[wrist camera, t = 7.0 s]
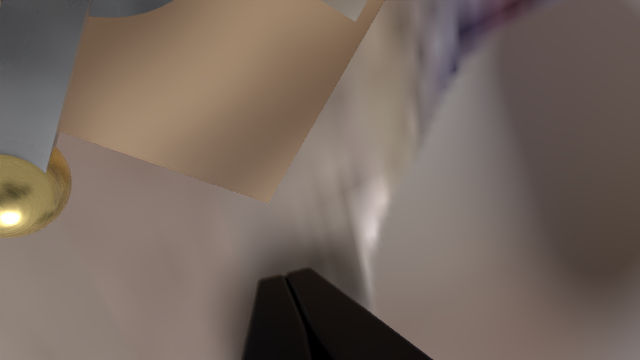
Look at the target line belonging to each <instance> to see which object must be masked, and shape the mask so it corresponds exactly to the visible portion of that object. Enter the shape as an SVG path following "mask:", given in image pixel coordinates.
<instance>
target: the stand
mask: <svg viewBox="0 0 640 360" xmlns="http://www.w3.org/2000/svg"><path fill="white" fill-rule="evenodd" d="M384 1H385V0H174V1H172V2H170V3H168V4H166V5H164V6H162V7H160V8H158V9H155V10H152V11H149V12H146V13H143V14H138V15H133V16H129V17H115V18H107V17H92V16H89V17H88V21H87V25H86V28H85V32H84V36H83V40H82V44H81V48H80V52H79V56H78V60H77V64H76V68H75V72H74V76H73V80H72V84H71V87H70V91H69V95H68V99H67V103H66V107H65V111H64V115H63V119H62V123H61V127H60V132H63V133H66V134H69V135H72V136H75V137H78V138H80V139H83V140H86V141H89V142H92V143H95V144H98V145H101V146H104V147H107V148H109V149H112V150H115V151H118V152H121V153H124V154H127V155H130V156H133V157H136V158H138V159H141V160H144V161H147V162H150V163H153V164H156V165H159V166H162V167H165V168H167V169H170V170H173V171H176V172H179V173H182V174H185V175H188V176H191V177H194V178H196V179H199V180H202V181H205V182H208V183H211V184H214V185H217V186H220V187H223V188H225V189H228V190H231V191H234V192H237V193H240V194H243V195H246V196H249V197H252V198H254V199H257V200H260V201H263V202H266V203H268V202H269V201H270V199H271V197H272V195H273V194H274V192H275V190H276V188H277V187H278V185H279V183H280V181H281V180H282V178H283V176H284V175H285V173H286V171H287V169H288V168H289V166H290V164H291V162H292V161H293V159H294V157H295V155H296V154H297V152H298V150H299V149H300V147H301V145H302V143H303V142H304V140H305V138H306V136H307V135H308V133H309V131H310V129H311V128H312V126H313V124H314V123H315V121H316V119H317V117H318V116H319V114H320V112H321V110H322V109H323V107H324V105H325V103H326V102H327V100H328V98H329V97H330V95H331V93H332V91H333V90H334V88H335V86H336V84H337V83H338V81H339V79H340V77H341V76H342V74H343V72H344V70H345V69H346V67H347V65H348V64H349V62H350V60H351V58H352V57H353V55H354V53H355V51H356V50H357V48H358V46H359V44H360V43H361V41H362V39H363V38H364V36H365V34H366V32H367V31H368V29H369V27H370V25H371V24H372V22H373V20H374V18H375V17H376V15H377V13H378V12H379V10H380V8H381V6H382V5H383V3H384ZM0 5H1V0H0Z"/></svg>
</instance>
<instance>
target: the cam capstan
mask: <svg viewBox="0 0 640 360" xmlns="http://www.w3.org/2000/svg"><path fill="white" fill-rule="evenodd" d="M172 1H174V0H1V5H0V238H14V237H21V236H25V235H29V234H32V233H34V232H37V231H39V230H41V229H43V228H45V227H46V226H47V225H49V224H50V223H51V222H53V221H54V220H55V219H56V218H57V217H58V216H59V215H60V213H61V212H62V211H63V209H64V208H65V206H66V204H67V202H68V199H69V197H70V193H71V186H72V179H71V173H70V169H69V166H68V164H67V162H66V160H65V158H64V156H63V155H62V153H61V152H60V151H59V150H58V149H57V148H56V147H55V146H56V142H57V139H58V135H59V131H60V127H61V123H62V119H63V115H64V111H65V107H66V103H67V99H68V95H69V91H70V87H71V84H72V80H73V76H74V72H75V68H76V64H77V60H78V56H79V52H80V48H81V44H82V40H83V36H84V32H85V28H86V25H87V21H88V17H89V16H92V17H107V18H115V17H129V16H133V15H138V14H143V13H146V12H149V11H152V10H155V9H158V8H160V7H162V6H164V5H166V4H168V3H170V2H172Z"/></svg>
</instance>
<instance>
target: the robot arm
mask: <svg viewBox="0 0 640 360" xmlns="http://www.w3.org/2000/svg"><path fill="white" fill-rule="evenodd" d="M241 360H433V359H431V358H430V357H429V356H428V355H426V354H425V353H424V352H422V351H421V350H420V349H418V348H417V347H416V346H414V345H413V344H411V343H410V342H409V341H408V340H406V339H405V338H404V337H402V336H401V335H400V334H398V333H397V332H395V331H394V330H393V329H392V328H390V327H389V326H388V325H386V324H385V323H384V322H382V321H381V320H380V319H378V318H377V317H376V316H374V315H373V314H372V313H370V312H369V311H368V310H366V309H365V308H364V307H362V306H361V305H360V304H358V303H357V302H356V301H355V300H353V299H352V298H351V297H349V296H348V295H347V294H345V293H344V292H343V291H341V290H340V289H339V288H337V287H336V286H335V285H333V284H332V283H331V282H329V281H328V280H327V279H325V278H324V277H323V276H321V275H320V274H319V273H317V272H316V271H315V270H313V269H312V268H309V267H305V268H301V269H297V270H293V271H289V272H287V273H286V275H285V276H284V275H283V274H277V275H273V276H269V277H265V278H262V279H260V280H259V281H258V284H257V288H256V292H255V297H254V302H253V306H252V311H251V315H250V320H249V325H248V329H247V334H246V338H245V343H244V348H243V352H242V357H241Z"/></svg>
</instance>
